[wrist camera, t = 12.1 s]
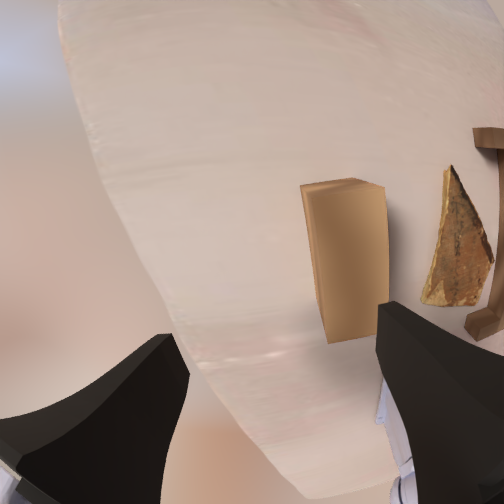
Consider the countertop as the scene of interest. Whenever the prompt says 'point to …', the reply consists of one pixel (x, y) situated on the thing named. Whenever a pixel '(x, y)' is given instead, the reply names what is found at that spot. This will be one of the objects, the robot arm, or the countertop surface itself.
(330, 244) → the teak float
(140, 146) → the countertop surface
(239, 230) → the countertop surface
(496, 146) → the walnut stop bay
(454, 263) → the shard
